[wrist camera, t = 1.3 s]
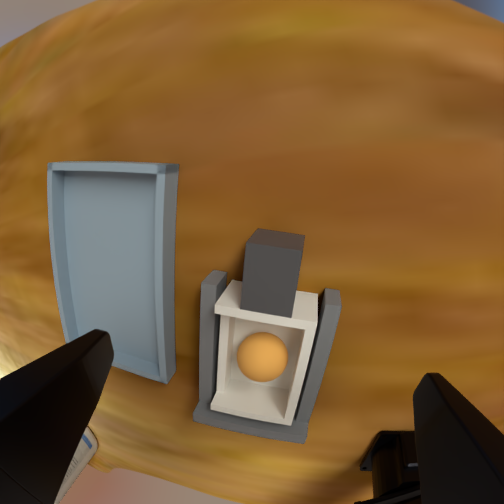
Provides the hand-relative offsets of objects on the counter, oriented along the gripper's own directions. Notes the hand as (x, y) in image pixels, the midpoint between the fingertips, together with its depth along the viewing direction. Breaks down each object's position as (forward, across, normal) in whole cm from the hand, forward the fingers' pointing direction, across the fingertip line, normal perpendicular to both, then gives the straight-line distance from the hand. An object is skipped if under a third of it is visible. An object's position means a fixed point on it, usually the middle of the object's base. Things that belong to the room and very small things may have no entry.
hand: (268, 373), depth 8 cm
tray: (+14, +13, +6) cm, 20 cm away
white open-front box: (+12, 0, +8) cm, 15 cm away
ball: (+10, 0, +9) cm, 13 cm away
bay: (+12, 0, +10) cm, 16 cm away
